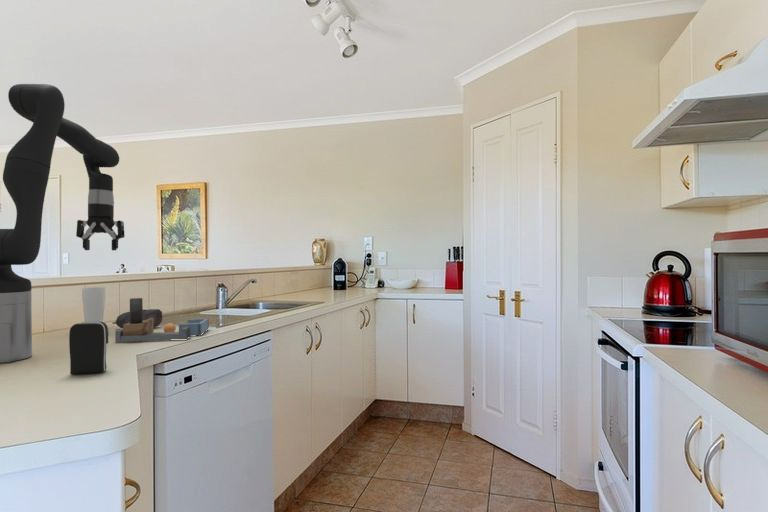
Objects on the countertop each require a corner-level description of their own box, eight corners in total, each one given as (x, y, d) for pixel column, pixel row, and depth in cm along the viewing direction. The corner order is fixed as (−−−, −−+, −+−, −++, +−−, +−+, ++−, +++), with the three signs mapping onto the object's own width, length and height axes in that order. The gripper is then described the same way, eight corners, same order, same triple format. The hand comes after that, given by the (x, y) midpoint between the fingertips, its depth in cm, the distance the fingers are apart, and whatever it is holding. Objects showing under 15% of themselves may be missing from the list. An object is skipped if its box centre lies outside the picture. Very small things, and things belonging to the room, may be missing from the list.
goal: (200, 335, 139) (200, 323, 138) (178, 336, 137) (178, 324, 137) (208, 329, 149) (208, 318, 149) (188, 330, 148) (188, 319, 148)
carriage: (141, 341, 129) (140, 299, 129) (123, 341, 128) (123, 299, 128) (159, 331, 144) (159, 294, 144) (143, 332, 143) (143, 294, 143)
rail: (185, 340, 131) (185, 329, 131) (115, 342, 128) (115, 331, 128) (189, 337, 136) (189, 326, 136) (121, 339, 133) (121, 328, 133)
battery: (110, 369, 99) (110, 320, 99) (103, 373, 95) (103, 322, 95) (76, 370, 97) (76, 321, 97) (68, 375, 94) (68, 323, 94)
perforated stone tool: (112, 330, 149) (112, 311, 149) (119, 328, 154) (119, 309, 154) (158, 329, 151) (157, 310, 151) (163, 327, 156) (163, 308, 156)
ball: (173, 334, 141) (173, 323, 141) (162, 335, 140) (161, 324, 140) (177, 332, 144) (177, 322, 144) (165, 333, 144) (165, 322, 144)
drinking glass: (93, 331, 147) (93, 288, 147) (77, 330, 148) (77, 287, 148) (110, 328, 154) (109, 286, 154) (94, 327, 155) (94, 286, 155)
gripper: (72, 202, 144) (72, 249, 143) (118, 202, 146) (118, 250, 146) (83, 205, 151) (83, 250, 151) (127, 205, 154) (127, 250, 153)
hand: (100, 250), depth 148 cm, fingers open, 8 cm apart
